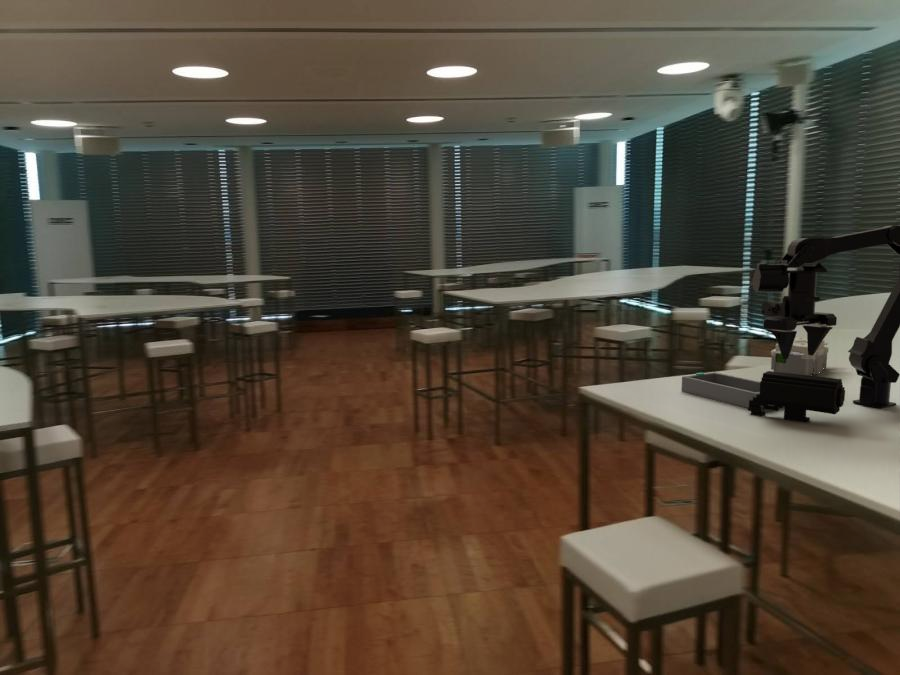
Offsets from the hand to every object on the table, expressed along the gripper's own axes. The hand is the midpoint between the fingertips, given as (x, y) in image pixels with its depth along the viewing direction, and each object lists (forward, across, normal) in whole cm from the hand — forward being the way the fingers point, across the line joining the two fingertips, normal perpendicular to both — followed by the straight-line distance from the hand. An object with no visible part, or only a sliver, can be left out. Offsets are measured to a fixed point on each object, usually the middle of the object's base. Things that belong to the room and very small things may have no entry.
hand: (798, 357), depth 149 cm
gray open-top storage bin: (+12, +6, -13) cm, 19 cm away
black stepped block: (+12, +12, +8) cm, 19 cm away
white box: (+12, -34, -24) cm, 43 cm away
